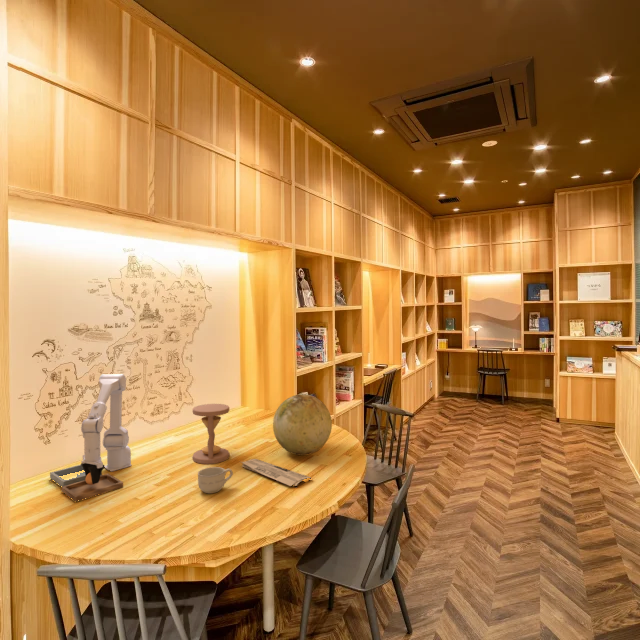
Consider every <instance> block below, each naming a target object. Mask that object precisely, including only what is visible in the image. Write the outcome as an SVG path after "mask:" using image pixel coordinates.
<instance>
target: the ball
mask: <svg viewBox="0 0 640 640" xmlns="http://www.w3.org/2000/svg"><path fill="white" fill-rule="evenodd" d="M85 480H86V483H87V484H89V485H94V484H93V483H92V478H91V474H90V473H89V474H87V476H86V479H85ZM95 484H96V483H95Z"/></svg>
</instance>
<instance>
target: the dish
mask: <svg viewBox="0 0 640 640" xmlns="http://www.w3.org/2000/svg"><path fill="white" fill-rule="evenodd" d="M82 470H84V469H83V467H82V466H81V464H78V465H77V464H76V465H74V466H70V467H66V468H62V469H59V470H55V471H51V472H49V479H50V478H51V479H52V480H54V481H55V482H56V483H58V484H59V485H60V486H62V487H63V486H67V485H70V484H73V483H77V482H80V481H84V480H85V479H86V475H85V472H83V473H80V475H78V474H77V477H76V478H72V479H69V480H64V479H62V478H61V477H59V476H63V475H67V474H70V473H75V472H79V471H82ZM102 472H103V471H102ZM102 472H101V475H103V473H102ZM101 475H100V476H101ZM52 480H51V481H52ZM56 483H55V484H56ZM60 486H59V487H60Z"/></svg>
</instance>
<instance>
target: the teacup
mask: <svg viewBox="0 0 640 640" xmlns="http://www.w3.org/2000/svg"><path fill="white" fill-rule="evenodd" d="M228 472H229V473H230V474H229V475H228V476H227V477H226V474H227V473H228ZM233 475H234V473H233V469H232V468H226V469H225V468H223V467H219V466H212V467H210V466H209V467H206V468H202V469H200V470H199V471H198V472H197V483H198V488H199V490H201V491H202V492H203V493H204V494H213V493H217V492H219V491H221V490H222V488H223V487H224V486H225V484H226V483H227V482H228V481H230V479H231V478H232V477H233Z"/></svg>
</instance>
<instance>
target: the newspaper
mask: <svg viewBox="0 0 640 640" xmlns="http://www.w3.org/2000/svg"><path fill="white" fill-rule="evenodd" d="M239 462H240V463H242V465H241V467H242V468H243V467H244V469H246V470H250V471H252V472H254V473H257V474H260V475H262V476H265V477H268V478H270V479H273V480H276V481H277V482H280V483H282V484H284V485H287V486H289V487H291V486H292V485H294V486H298V485H299V483H300V482H302V480H304V479H307V478H310V479H311V478H312V476H311V477H310V476H309V475H305V474H302V473H299V472H297V471H293V470H290V469H287V468H284V467H281V466H278V465H275V464H272V463H269V462H266V461H263V460H260V459H258V458H251V459H248V460H245V461H239ZM294 486H292V487H294Z"/></svg>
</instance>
